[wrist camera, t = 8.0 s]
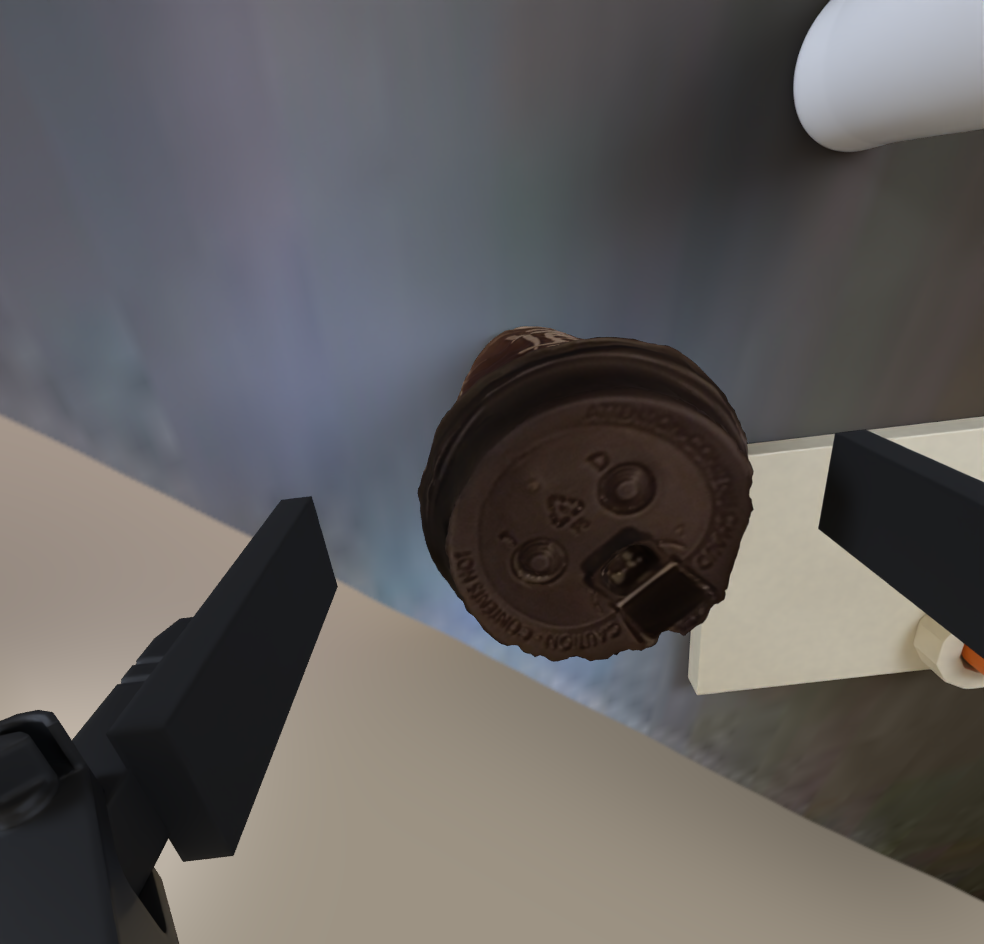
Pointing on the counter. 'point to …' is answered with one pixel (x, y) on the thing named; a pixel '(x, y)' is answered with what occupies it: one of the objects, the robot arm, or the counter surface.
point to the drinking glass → (891, 72)
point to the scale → (822, 581)
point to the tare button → (973, 659)
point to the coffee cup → (586, 493)
